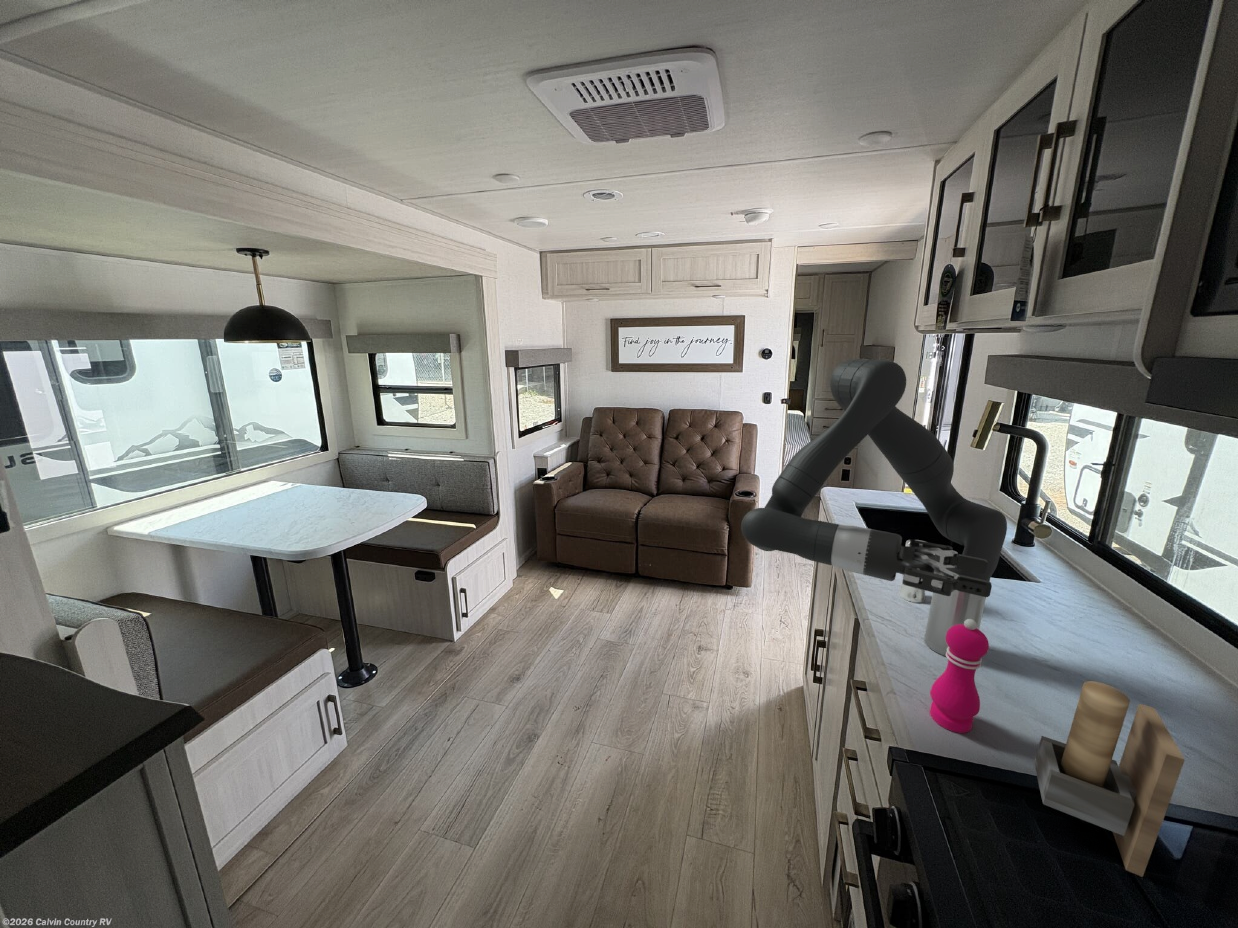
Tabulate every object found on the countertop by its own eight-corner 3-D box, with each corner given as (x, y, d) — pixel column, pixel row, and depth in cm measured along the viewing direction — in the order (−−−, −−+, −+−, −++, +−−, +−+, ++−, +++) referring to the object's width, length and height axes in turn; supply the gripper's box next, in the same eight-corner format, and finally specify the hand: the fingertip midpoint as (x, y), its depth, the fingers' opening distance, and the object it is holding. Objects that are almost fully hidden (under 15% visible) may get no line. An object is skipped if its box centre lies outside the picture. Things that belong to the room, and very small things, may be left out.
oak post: (1053, 771, 70) (1079, 676, 66) (1094, 786, 68) (1124, 689, 64) (1058, 794, 67) (1087, 695, 63) (1102, 811, 65) (1134, 709, 61)
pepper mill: (929, 699, 92) (948, 604, 87) (976, 717, 87) (999, 618, 82) (923, 721, 86) (943, 621, 81) (973, 742, 82) (997, 637, 77)
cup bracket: (1027, 779, 75) (1054, 679, 71) (1119, 814, 69) (1154, 708, 65) (1037, 832, 67) (1069, 722, 62) (1142, 876, 61) (1184, 759, 57)
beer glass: (926, 606, 125) (936, 552, 121) (895, 599, 128) (904, 546, 124) (926, 595, 130) (936, 542, 127) (897, 588, 134) (905, 537, 130)
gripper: (862, 544, 73) (998, 572, 64) (873, 517, 84) (989, 538, 76) (856, 590, 74) (987, 623, 66) (867, 557, 86) (980, 582, 78)
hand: (988, 577), depth 71 cm, fingers open, 8 cm apart
